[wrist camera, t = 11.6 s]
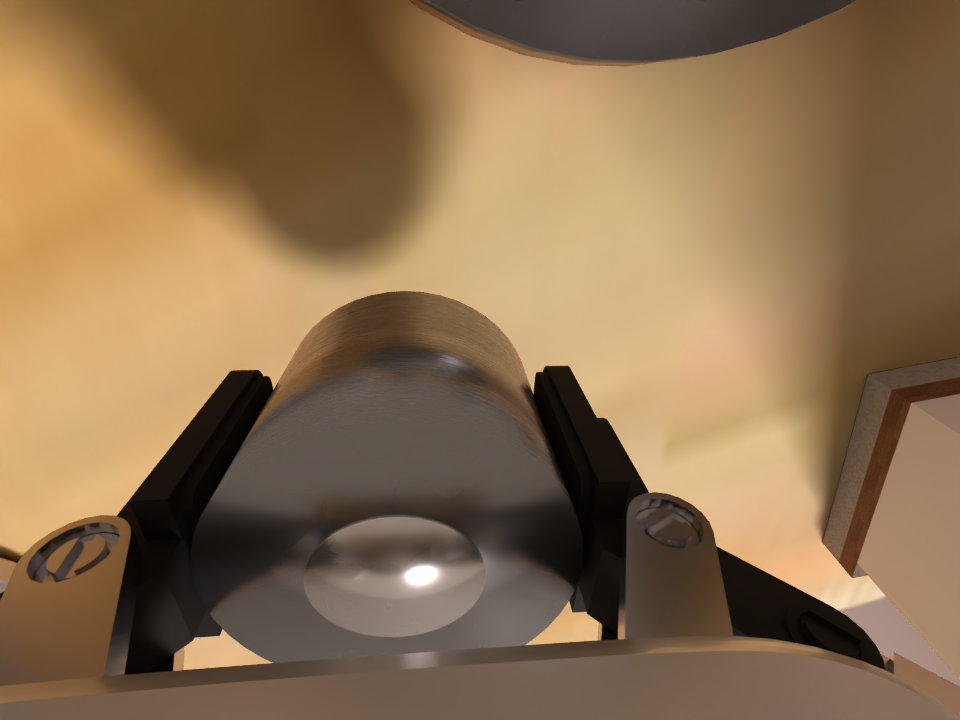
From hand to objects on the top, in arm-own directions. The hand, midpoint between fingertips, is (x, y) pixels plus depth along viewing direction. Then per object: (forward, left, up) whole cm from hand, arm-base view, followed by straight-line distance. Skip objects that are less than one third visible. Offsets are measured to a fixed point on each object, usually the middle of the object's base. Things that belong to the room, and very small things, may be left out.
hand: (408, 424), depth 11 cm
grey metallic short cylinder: (0, 0, -1) cm, 1 cm away
